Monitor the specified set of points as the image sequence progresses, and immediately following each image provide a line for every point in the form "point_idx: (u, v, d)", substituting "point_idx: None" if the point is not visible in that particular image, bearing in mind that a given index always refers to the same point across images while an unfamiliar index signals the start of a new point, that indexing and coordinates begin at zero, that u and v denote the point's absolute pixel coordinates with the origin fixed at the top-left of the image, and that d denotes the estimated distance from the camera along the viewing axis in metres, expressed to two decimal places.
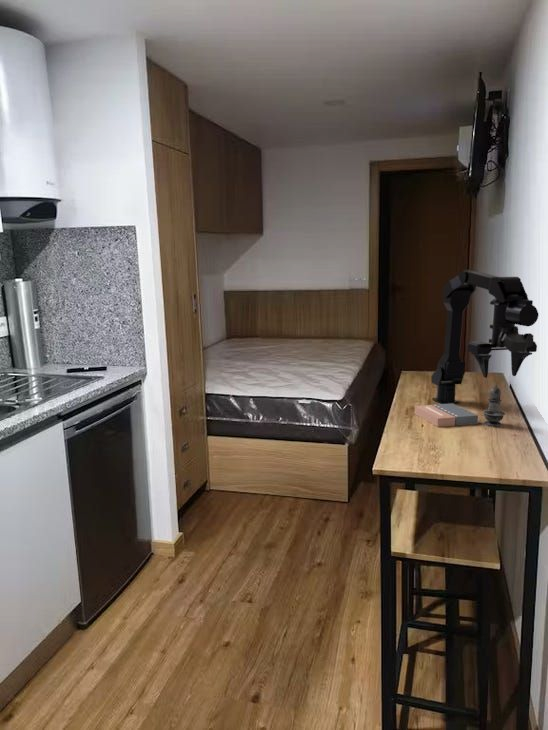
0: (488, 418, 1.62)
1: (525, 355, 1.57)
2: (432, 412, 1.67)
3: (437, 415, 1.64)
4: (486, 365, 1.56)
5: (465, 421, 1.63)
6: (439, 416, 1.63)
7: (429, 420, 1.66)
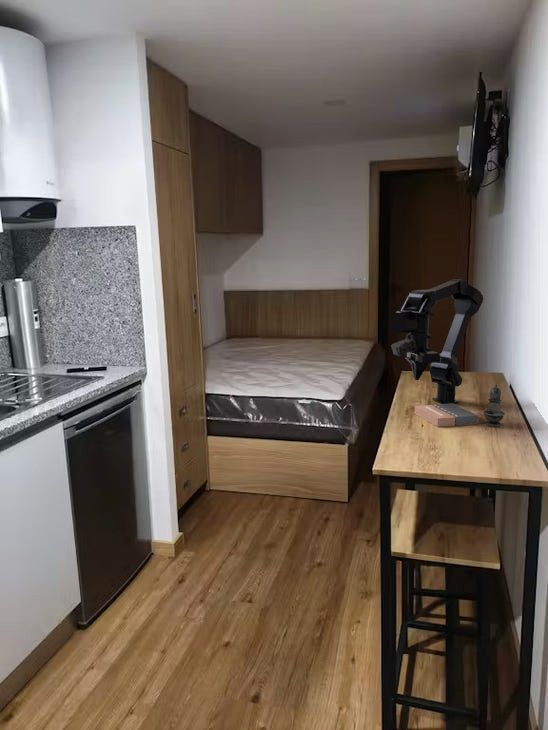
0: (488, 418, 1.62)
1: (412, 361, 1.75)
2: (432, 412, 1.67)
3: (437, 415, 1.64)
4: (412, 368, 1.78)
5: (465, 421, 1.63)
6: (439, 416, 1.63)
7: (429, 420, 1.66)
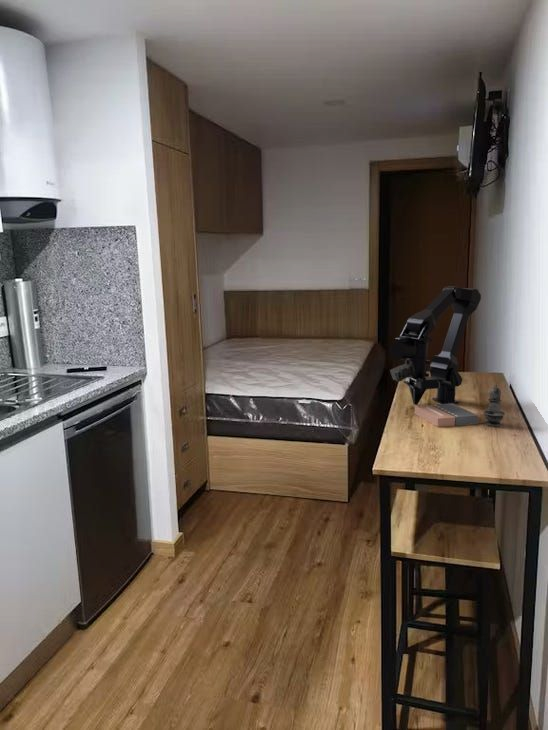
0: (488, 418, 1.62)
1: (411, 386, 1.77)
2: (432, 412, 1.67)
3: (437, 415, 1.64)
4: (411, 392, 1.80)
5: (465, 421, 1.63)
6: (439, 416, 1.63)
7: (429, 420, 1.66)
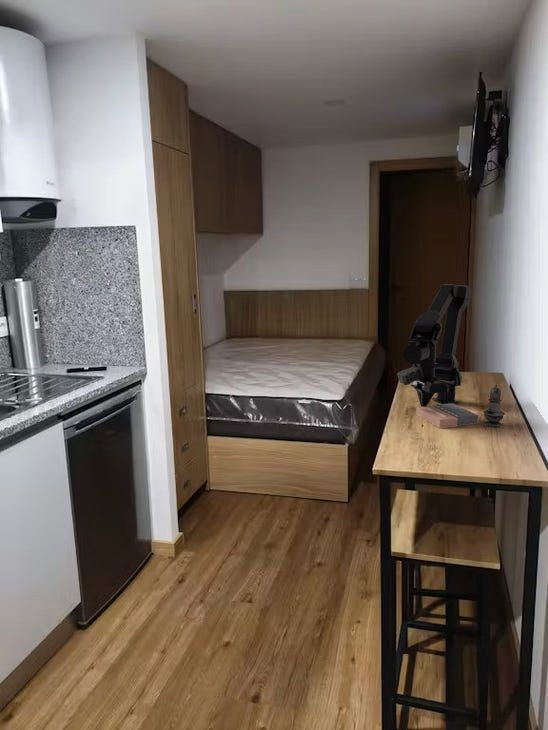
0: (488, 418, 1.62)
1: (419, 390, 1.72)
2: (434, 413, 1.66)
3: (439, 416, 1.63)
4: (418, 396, 1.75)
5: (465, 421, 1.63)
6: (441, 417, 1.62)
7: (431, 421, 1.65)
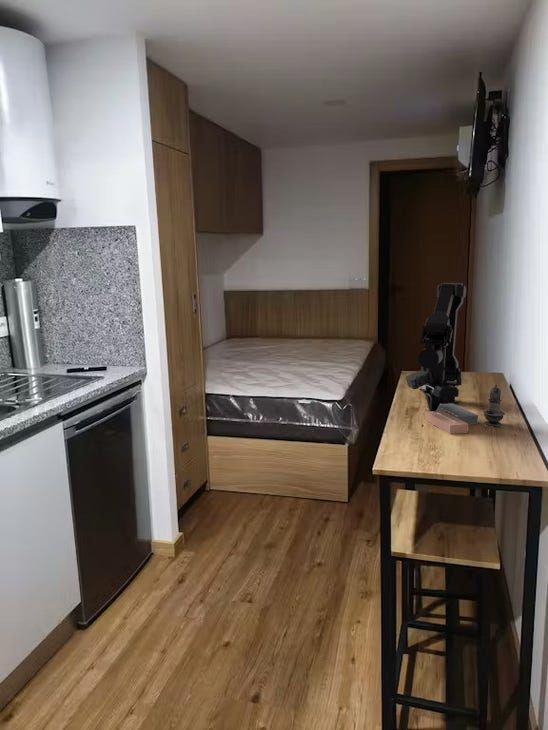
0: (488, 418, 1.62)
1: (428, 394, 1.66)
2: (444, 418, 1.61)
3: (449, 422, 1.58)
4: (427, 400, 1.69)
5: (465, 421, 1.63)
6: (451, 423, 1.57)
7: (441, 427, 1.59)
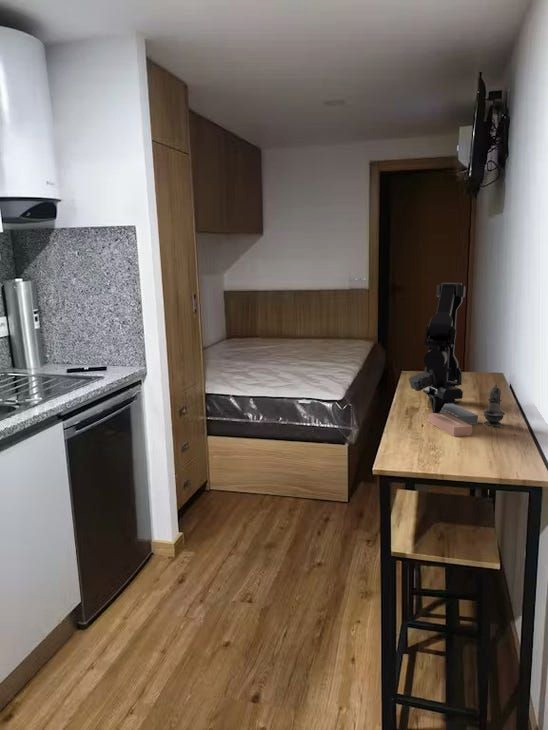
0: (488, 418, 1.62)
1: (431, 396, 1.64)
2: (448, 420, 1.59)
3: (453, 424, 1.56)
4: (431, 402, 1.67)
5: (465, 421, 1.63)
6: (455, 425, 1.55)
7: (444, 429, 1.57)
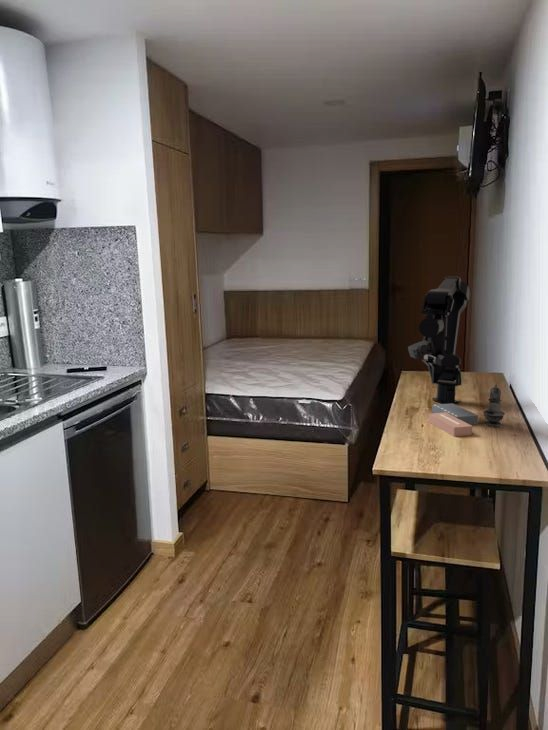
0: (488, 418, 1.62)
1: (430, 364, 1.69)
2: (448, 420, 1.59)
3: (453, 424, 1.56)
4: (429, 370, 1.72)
5: (465, 421, 1.63)
6: (455, 425, 1.55)
7: (444, 429, 1.57)
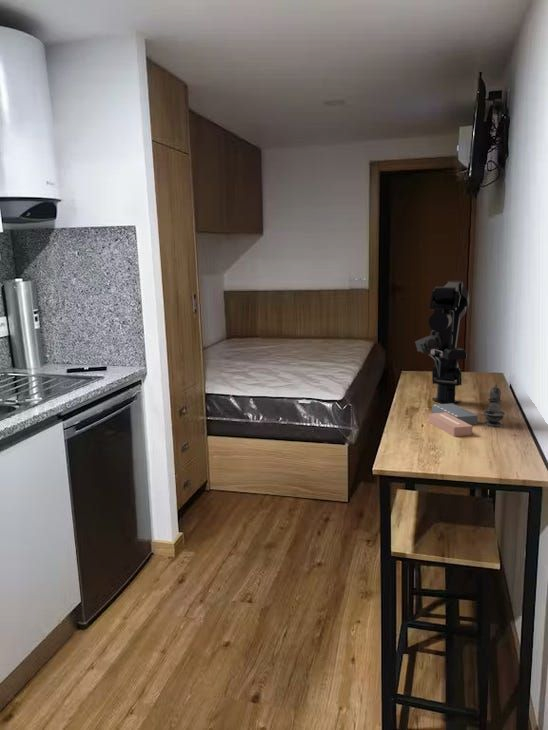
0: (488, 418, 1.62)
1: (437, 358, 1.72)
2: (448, 420, 1.59)
3: (453, 424, 1.56)
4: (436, 365, 1.76)
5: (465, 421, 1.63)
6: (455, 425, 1.55)
7: (444, 429, 1.57)
